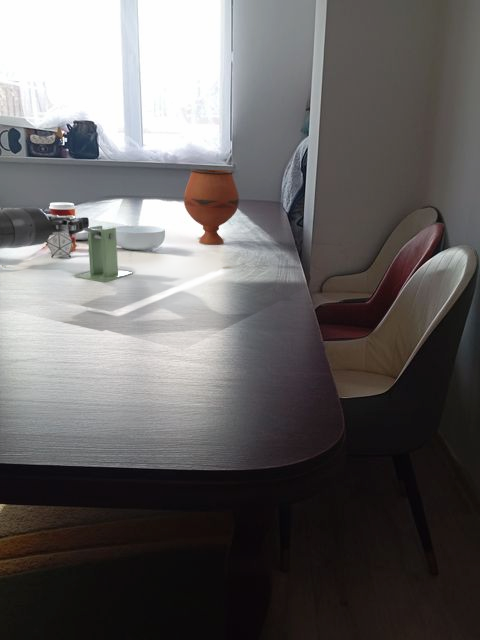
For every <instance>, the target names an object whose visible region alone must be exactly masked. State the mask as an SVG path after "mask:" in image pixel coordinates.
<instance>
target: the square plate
mask: <svg viewBox="0 0 480 640" xmlns="http://www.w3.org/2000/svg"><path fill="white" fill-rule="evenodd" d="M99 225H100V226H102V229H104V228H110V227H117V226H131V225H130V224H123V223H117V222H111V221H104V220H93V219H89V227H92V226H99ZM75 238H76V241H85V240H86V241H88V232H85V231H82V232H78V233H76V234H75Z"/></svg>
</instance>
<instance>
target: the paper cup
mask: <svg viewBox="0 0 480 640" xmlns="http://www.w3.org/2000/svg"><path fill="white" fill-rule="evenodd" d="M48 209H49V211H50V214H52V215H58V216H67V215H72V216H74V217H76V209H77V207H76V206H75V203H73V202H63V201H62V202H61V201H60V202H59V201H58V202H50V203H49V207H48ZM69 235H70V237H71V239H72V241H75V242H73V244H76V243H77V240H76V238H75V234H73V235H71V234H69ZM76 245H77V244H76ZM76 245H75V246H74V245H73V247H72V250H71V252H75V251H76V247H77V246H76Z"/></svg>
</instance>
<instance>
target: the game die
mask: <svg viewBox="0 0 480 640" xmlns="http://www.w3.org/2000/svg"><path fill="white" fill-rule="evenodd" d="M73 242H75V241H72V239H71V237H70V235H69V233H61V234H58V235H50V237H49V239H48V240H47V241H46V242H45V246H46V247H48V249H49V251H50V253H51V258H54V256H55V257H56V256H68V257H69V258H72V255H70V254H71V252H72V251H71V250H72V247H73V245H74V246H75V245H77V244H73Z"/></svg>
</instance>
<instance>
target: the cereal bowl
mask: <svg viewBox="0 0 480 640" xmlns="http://www.w3.org/2000/svg"><path fill="white" fill-rule="evenodd" d="M115 228H116V243H117V247H120V248H122V249H124V250H129V251H139V252H147V253H149V252H152V250H154V249H157V248H159V247H160V246H161V245H163V243H164V241H165V237H166V230H165V228H164V227H163V228H162V227H160V226H152V225H130V226H117V227H115Z"/></svg>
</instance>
